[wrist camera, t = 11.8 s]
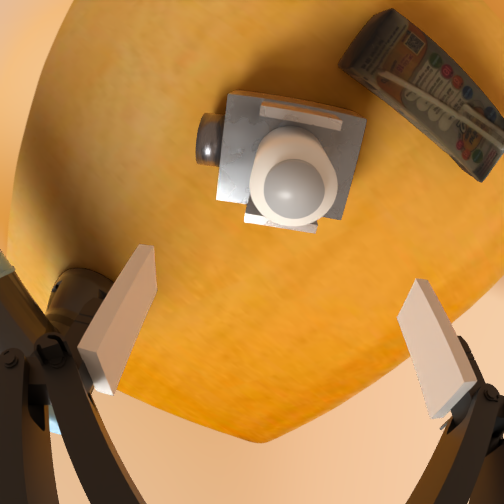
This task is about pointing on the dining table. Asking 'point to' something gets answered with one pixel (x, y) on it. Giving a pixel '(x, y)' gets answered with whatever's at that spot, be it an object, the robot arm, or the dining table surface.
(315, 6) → the dining table surface
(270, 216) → the white cylindrical container
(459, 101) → the beverage carton
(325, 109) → the motor
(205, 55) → the dining table surface
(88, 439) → the robot arm
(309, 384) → the dining table surface
